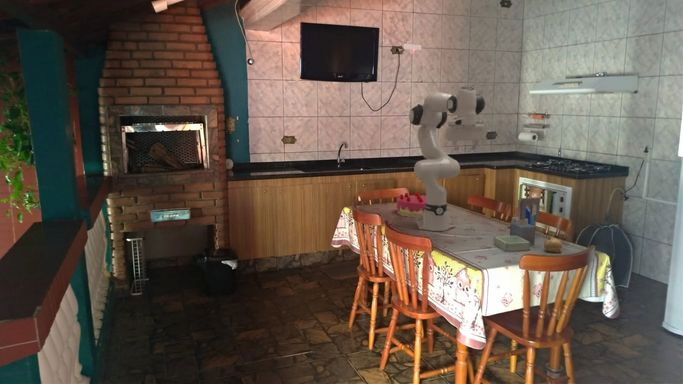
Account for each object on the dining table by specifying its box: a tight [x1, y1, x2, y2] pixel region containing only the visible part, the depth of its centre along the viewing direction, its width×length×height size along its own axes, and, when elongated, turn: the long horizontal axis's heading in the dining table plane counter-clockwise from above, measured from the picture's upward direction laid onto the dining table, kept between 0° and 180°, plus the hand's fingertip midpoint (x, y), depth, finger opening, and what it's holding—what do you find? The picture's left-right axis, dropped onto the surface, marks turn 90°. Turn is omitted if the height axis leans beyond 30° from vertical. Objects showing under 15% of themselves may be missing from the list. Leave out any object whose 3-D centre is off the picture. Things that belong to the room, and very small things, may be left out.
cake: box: [396, 191, 426, 219], centre depth 324 cm, size 28×28×12 cm
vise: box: [507, 216, 536, 246], centre depth 257 cm, size 14×8×11 cm, turn 9°
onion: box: [543, 236, 563, 254], centre depth 240 cm, size 8×8×7 cm
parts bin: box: [493, 235, 531, 253], centre depth 247 cm, size 13×12×4 cm
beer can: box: [525, 207, 536, 228], centre depth 267 cm, size 8×8×16 cm
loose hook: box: [520, 197, 541, 221], centre depth 248 cm, size 2×9×10 cm, turn 99°
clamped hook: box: [516, 199, 537, 219], centre depth 252 cm, size 14×2×13 cm, turn 9°
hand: (465, 149), depth 247 cm, fingers open, 8 cm apart
